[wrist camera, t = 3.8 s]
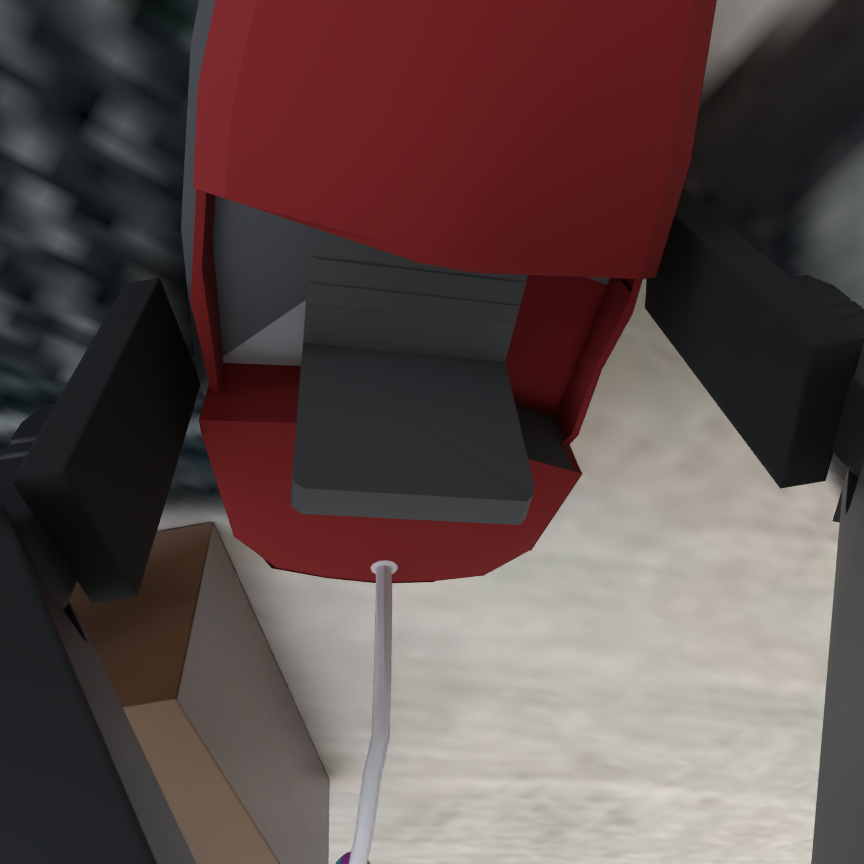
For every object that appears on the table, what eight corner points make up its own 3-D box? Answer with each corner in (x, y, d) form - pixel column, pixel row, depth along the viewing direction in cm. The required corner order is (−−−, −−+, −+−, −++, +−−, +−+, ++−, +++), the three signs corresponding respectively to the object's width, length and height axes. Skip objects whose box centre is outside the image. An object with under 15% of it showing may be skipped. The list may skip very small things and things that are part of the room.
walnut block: (213, 521, 21) (176, 700, 16) (329, 780, 31) (327, 939, 26) (-49, 566, 21) (-162, 757, 16) (149, 811, 31) (114, 976, 26)
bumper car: (771, -237, 12) (1593, -511, 4) (507, 562, 24) (593, 897, 16) (177, -403, 10) (-367, -1436, 2) (202, 549, 22) (123, 921, 14)
